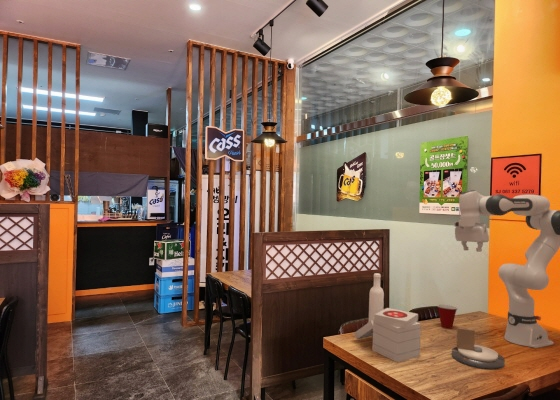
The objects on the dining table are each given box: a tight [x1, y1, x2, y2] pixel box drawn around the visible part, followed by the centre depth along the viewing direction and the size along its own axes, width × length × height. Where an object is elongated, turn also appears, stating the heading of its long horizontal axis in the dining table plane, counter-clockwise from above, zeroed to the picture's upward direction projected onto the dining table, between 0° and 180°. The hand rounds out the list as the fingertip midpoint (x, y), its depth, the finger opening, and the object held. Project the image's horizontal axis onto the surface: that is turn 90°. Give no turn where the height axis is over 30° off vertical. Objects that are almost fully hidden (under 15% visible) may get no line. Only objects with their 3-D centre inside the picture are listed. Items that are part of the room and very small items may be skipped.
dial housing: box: [451, 346, 506, 371], centre depth 171 cm, size 21×21×2 cm
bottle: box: [368, 272, 385, 322], centre depth 210 cm, size 8×8×30 cm
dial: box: [456, 327, 499, 362], centre depth 171 cm, size 16×16×10 cm
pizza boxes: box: [353, 307, 422, 363], centre depth 180 cm, size 19×30×18 cm, turn 31°
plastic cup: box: [436, 304, 459, 330], centre depth 216 cm, size 11×11×12 cm
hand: (472, 251), depth 188 cm, fingers open, 8 cm apart
